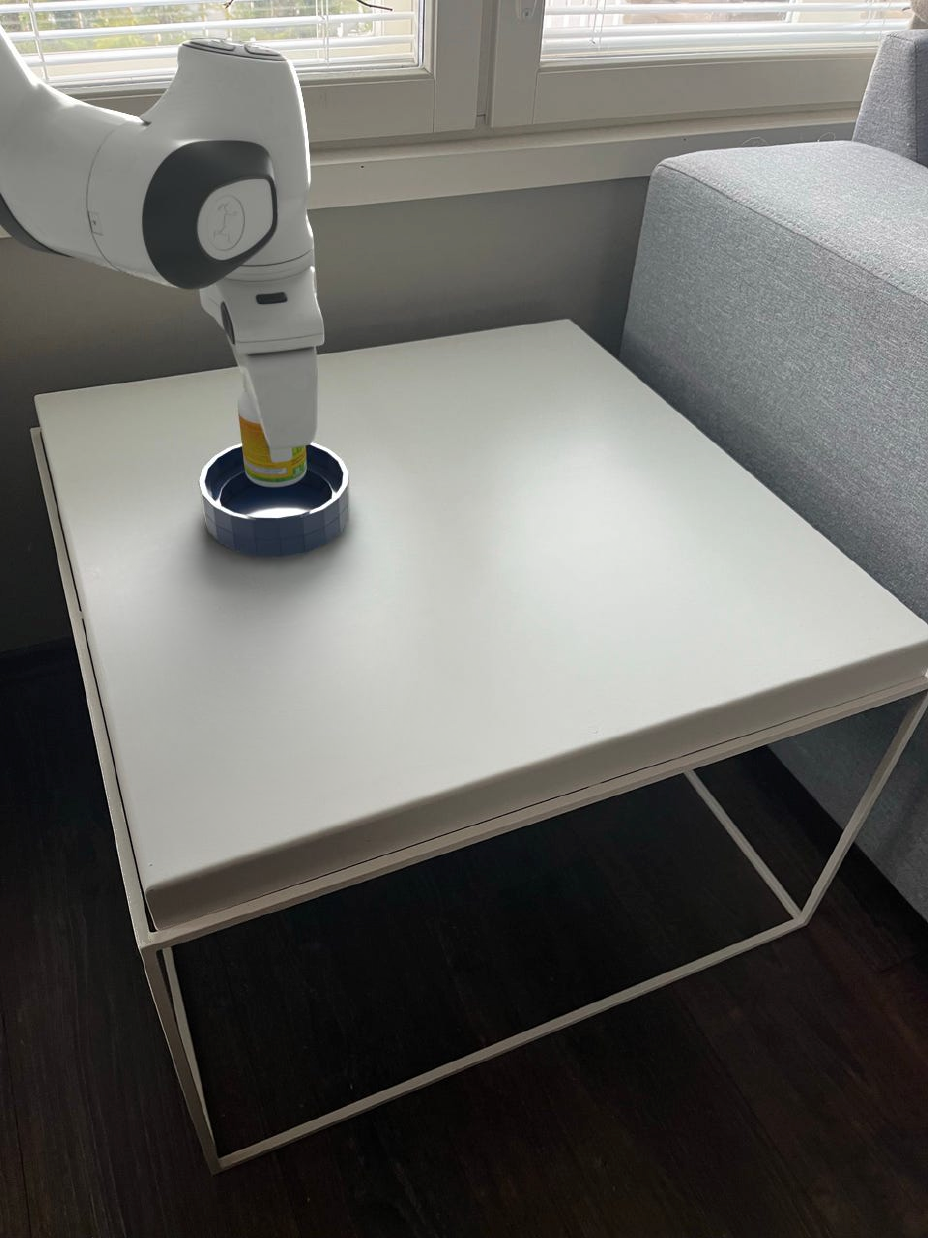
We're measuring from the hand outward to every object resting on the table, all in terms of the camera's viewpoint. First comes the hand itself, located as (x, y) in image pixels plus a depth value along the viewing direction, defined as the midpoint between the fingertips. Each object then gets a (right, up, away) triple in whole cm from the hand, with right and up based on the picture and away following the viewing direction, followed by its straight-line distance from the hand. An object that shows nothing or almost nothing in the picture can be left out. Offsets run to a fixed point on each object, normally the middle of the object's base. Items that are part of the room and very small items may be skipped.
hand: (272, 436), depth 83 cm
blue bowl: (-1, -6, +6) cm, 9 cm away
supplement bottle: (0, -3, +3) cm, 4 cm away
